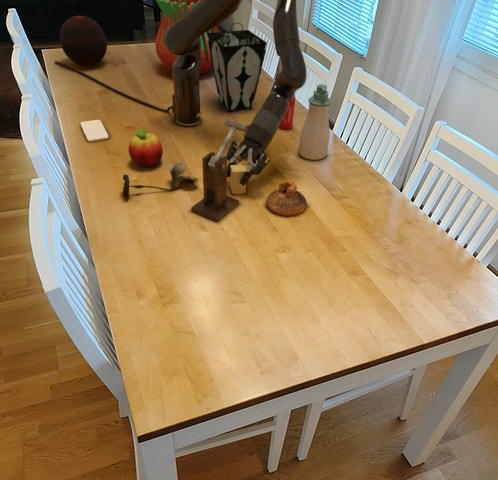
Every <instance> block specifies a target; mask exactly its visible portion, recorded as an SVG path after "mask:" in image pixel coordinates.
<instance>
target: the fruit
mask: <svg viewBox="0 0 498 480" xmlns="http://www.w3.org/2000/svg"><path fill="white" fill-rule="evenodd" d="M135 134H136V135H134V136H133V137H132V138H131V139H130V141H129V144H128V154H129V157H130V159H131V161H132V162H133V163H134V164H135V165H137V166H139V167H141V168H152V167H155V166H156V165H158V164H159V163H160V162H161V160H162V158H163V153H164V147H163V145H162V142H161V141H160V139H159V137H158V136H157V135H155V134H154V133H147V131H146V130H144V129H141V128H137V129H136V130H135Z"/></svg>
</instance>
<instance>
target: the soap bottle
mask: <svg viewBox="0 0 498 480" xmlns="http://www.w3.org/2000/svg"><path fill="white" fill-rule="evenodd" d="M327 89H328V85H326V84H323V83H319V84H317V85H316V90H314V91H313V95H311V96H310V97H309V98H308V99H307V100H308V110H307V115H306V117H305V120H304V123H303V125H302V128H301V132H300V137H299V143H298V154H299V155H300V156H301V157H302V158H304V159H306V160H309V161H310V160H311V161H317V160H322V159H324V158H325V157H326V156H327V154H328V150H329V144H330V133H331V132H330V121H329V112H330V107H331V104H332V99H331V98H329V91H328V90H327Z"/></svg>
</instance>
